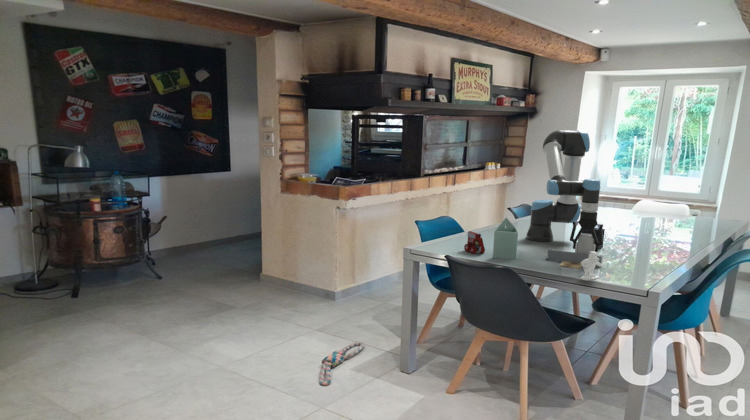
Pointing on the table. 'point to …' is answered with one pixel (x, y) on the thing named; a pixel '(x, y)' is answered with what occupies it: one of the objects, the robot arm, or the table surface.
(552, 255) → the wall
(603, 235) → the box
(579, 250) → the can
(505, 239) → the planter
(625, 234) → the table surface
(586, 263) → the figurine
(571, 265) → the coaster
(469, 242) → the toy fire truck
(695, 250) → the table surface
